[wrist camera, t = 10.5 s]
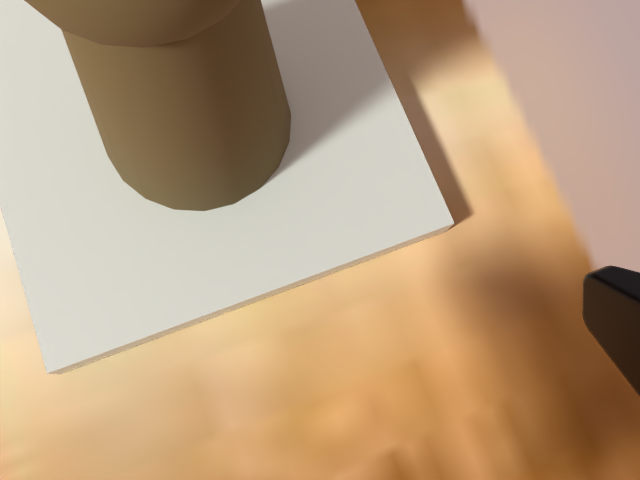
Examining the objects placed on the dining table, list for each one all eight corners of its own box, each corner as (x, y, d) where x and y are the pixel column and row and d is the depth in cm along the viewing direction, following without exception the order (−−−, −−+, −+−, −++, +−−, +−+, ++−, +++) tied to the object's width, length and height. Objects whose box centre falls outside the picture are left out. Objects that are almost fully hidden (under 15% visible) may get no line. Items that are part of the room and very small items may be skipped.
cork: (281, 32, 21) (281, -355, 10) (300, 202, 19) (324, -36, 8) (99, 44, 20) (-110, -350, 9) (104, 220, 19) (-134, -9, 8)
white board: (446, 231, 20) (454, 222, 19) (59, 374, 18) (47, 373, 17) (262, -183, 24) (261, -207, 23) (-75, -99, 22) (-91, -121, 21)
